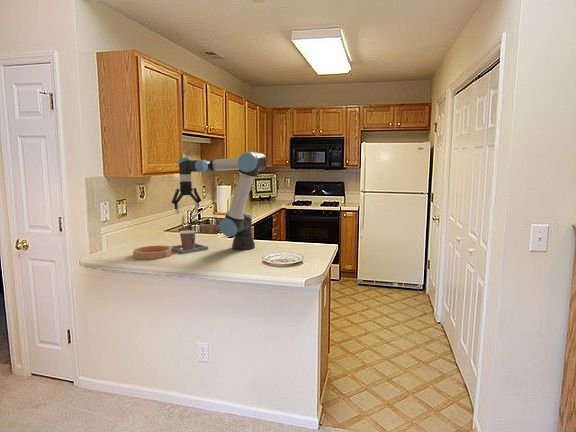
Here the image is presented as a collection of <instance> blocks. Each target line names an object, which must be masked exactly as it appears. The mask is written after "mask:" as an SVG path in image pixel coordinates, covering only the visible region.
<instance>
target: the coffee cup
mask: <svg viewBox="0 0 576 432" xmlns="http://www.w3.org/2000/svg"><path fill="white" fill-rule="evenodd" d="M179 235H180V240H181V245H182V248H181V249H182V250H188V249H194V248H195V247H194V245H195V243H196V242H195V241H196V230H193V229H192V230H189V229H188V230H180V231H179Z"/></svg>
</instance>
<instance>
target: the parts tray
mask: <svg viewBox="0 0 576 432" xmlns="http://www.w3.org/2000/svg"><path fill="white" fill-rule="evenodd" d="M170 247H172V252H174V253H178V254H181V255H184V254H185V255H187V254H190V253H197V252H201V251H208V250H209V246H207V245H203V244H199V243H196V242H195V245H194V249H188V250H183V248H182V244H178V245H171V246H170Z"/></svg>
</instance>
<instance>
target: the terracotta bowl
mask: <svg viewBox="0 0 576 432" xmlns="http://www.w3.org/2000/svg"><path fill="white" fill-rule="evenodd" d="M132 254H133V258H134V259H136V260H141V261H143V260H144V261H145V260H146V261H147V260H148V261H149V260H150V261H152V260H159V259H161V260H162V259H165V258H169V257H170V256H172V254H173V251H172V247H170V246H169V245H146V246H141V247H137V248H135V249H133V251H132Z"/></svg>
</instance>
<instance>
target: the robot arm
mask: <svg viewBox="0 0 576 432" xmlns="http://www.w3.org/2000/svg"><path fill="white" fill-rule="evenodd" d="M267 165H268V159H267V157H266V155H265V154H264V153H262V152H255V151H247V152H245V151H244V152H243V153H241V154H240V156H239V157H233V158H221V159H219V158H218V159H209V160H206V159H191V157H188V156H185V157H181V156H180V157H178V170H179V175H178V176H179V188H175V192H174V195H173V197H172V200H171V204H173V206H174V210H175V215H180V209H179V207H180V206H179V202H180V201H181V199H182V197H184V196H190V197H191V199H192V200H193V201H194V213H199V207H200V202H202V199H201V197H200V194H199V193H198V191H197V188H196V187H193V185H192V179H193V178H192V173H204V172H205V173H206V172H218V171H219V172H220V171H237V170H238V171H237V172H238V173H239V176H238V179H237V184H236V187H235V190H234V193H233V197H232V201H231V204H230V207H229V210H228V211H226V213H225V215H224V218H223V219H221V220H220V222H219V230H220V231H221V233H222V235H224V236H226V237H233V241H232V244H231V248H232V249H233V250H237V251H238V250H240V251H246V250H247V251H248V250H251V249H255V248H256V243H255V241H254V238H253V224H252V223H253V222H252V221H253V219H252V214H251V213H244V212H245V208H246V205H247V202H248V198H249V195H250V192H251V190H252V189H251V188H252V186H253V185H252V184H253V181H254V179H255V178H257V177H258V174H259V172H261V171H264V170H265V169H266V167H267Z"/></svg>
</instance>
